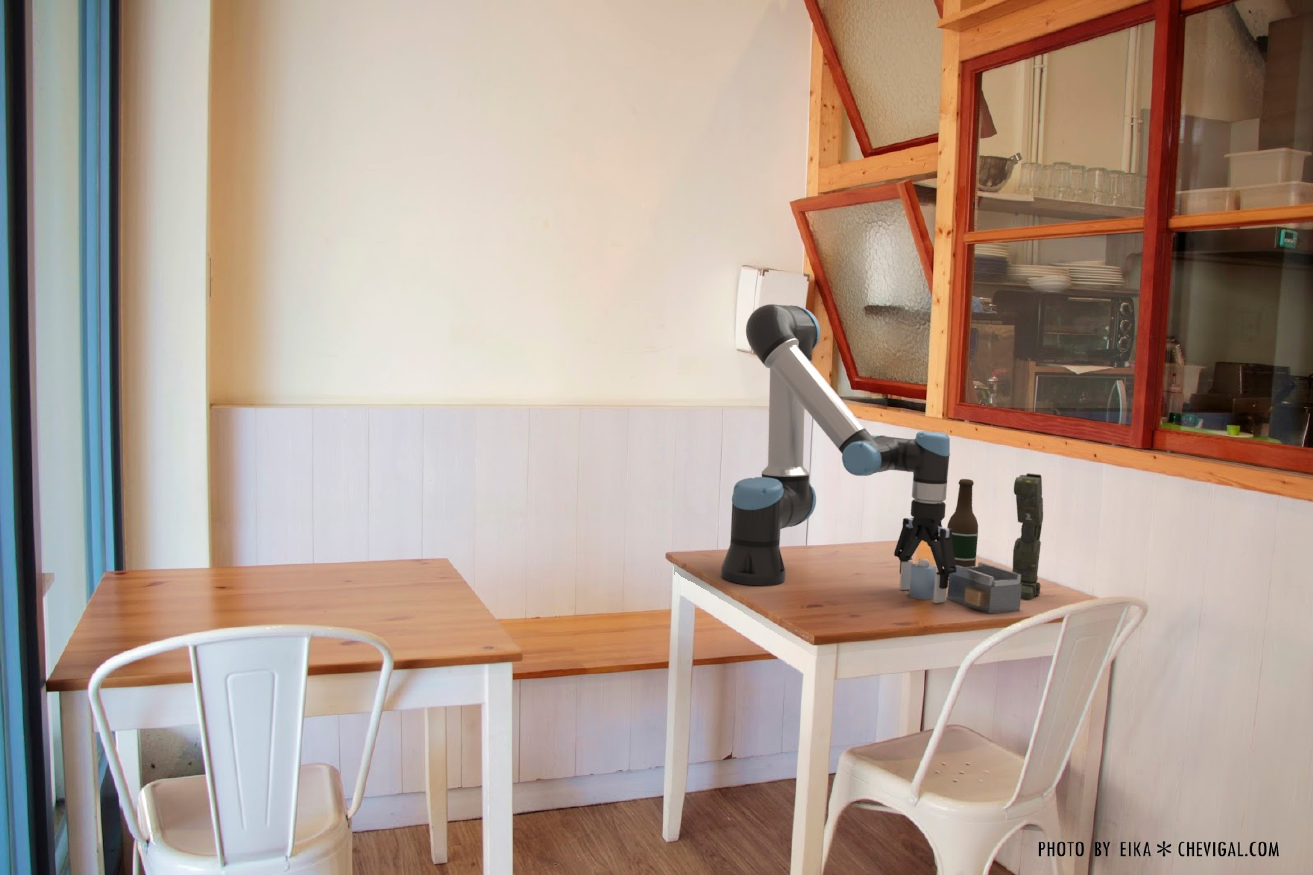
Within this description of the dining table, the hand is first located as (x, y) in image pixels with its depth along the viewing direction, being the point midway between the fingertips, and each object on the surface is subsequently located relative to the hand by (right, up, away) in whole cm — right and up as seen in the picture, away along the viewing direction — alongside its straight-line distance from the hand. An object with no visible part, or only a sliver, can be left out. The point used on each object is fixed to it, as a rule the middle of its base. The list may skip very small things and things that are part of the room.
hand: (921, 595), depth 241 cm
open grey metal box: (+11, -1, -4) cm, 12 cm away
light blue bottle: (0, 0, 0) cm, 0 cm away
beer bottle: (+15, +2, +23) cm, 28 cm away
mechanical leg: (+25, -1, +6) cm, 26 cm away
